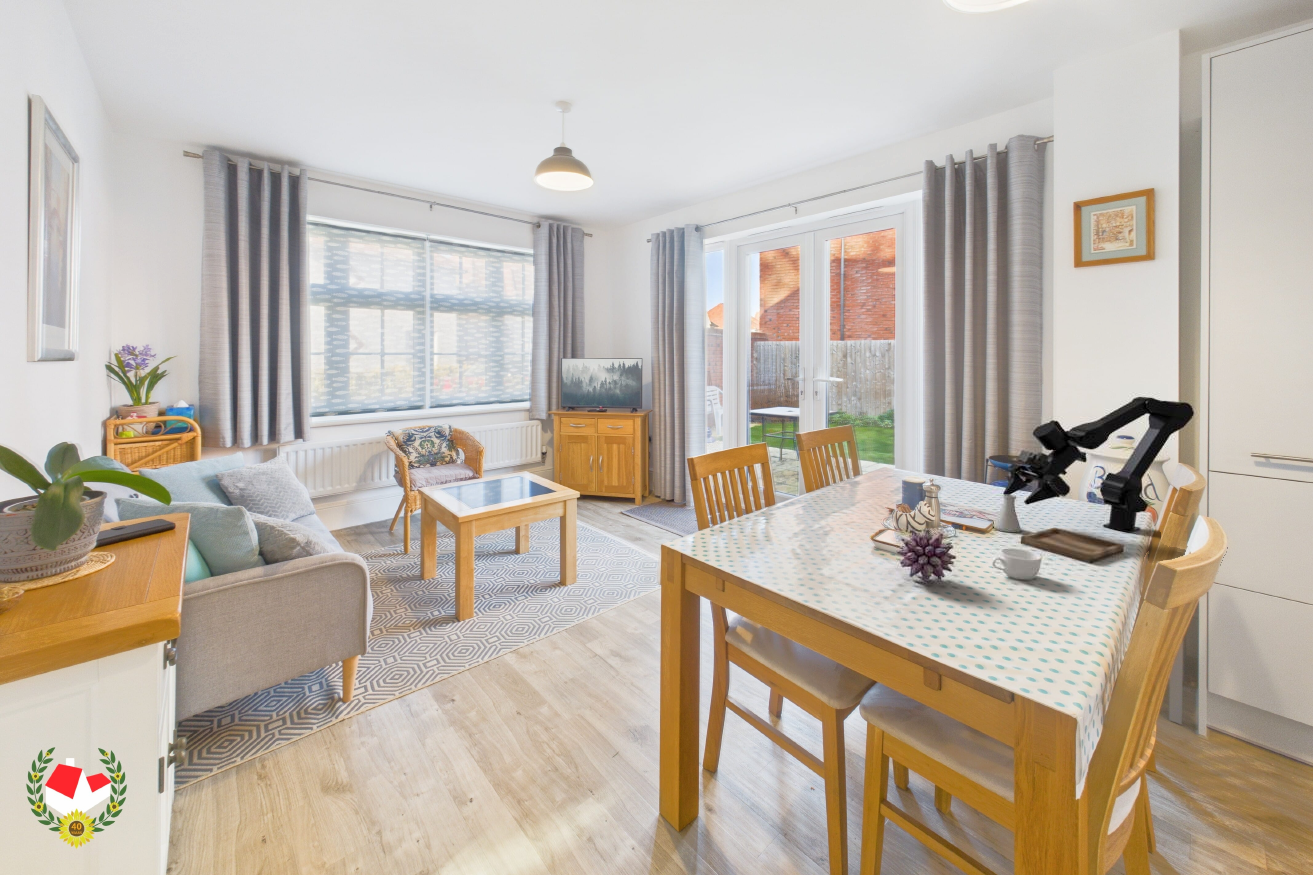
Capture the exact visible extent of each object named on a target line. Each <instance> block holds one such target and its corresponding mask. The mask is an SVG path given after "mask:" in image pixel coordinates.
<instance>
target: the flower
mask: <svg viewBox="0 0 1313 875" xmlns="http://www.w3.org/2000/svg"><path fill="white" fill-rule="evenodd" d="M910 532H911V533H909V534H907V535H908V536H909V538H904V537H901V538H900V539H899V540H900V541H901V542H903V544H904V545H900V546H899V549H900V550H896V554H898V555H901V556H903V558H902V560H900V561H899V563H900V565H901V567H902V568H905V567H907V568H910V571H909V572H910V573H909V574H908V576H909V577H910V578H913V576H915V575H917V574H921V576H922V577H923V582H929V580H930V578H931V576H932V575H933V576H935V577H936V578H937V579H938V580H940V581H941V580H942V578H943V579H944V578H945V577H946V575H945V573H944V571H947V572H950V573H952V572H953V569H952V568H951V567H950V566H949V565H952V566H953V565H954V563H955V562H954V561H953V560H956V559H957V556H956V555H954V554H952V553H950V550H952V549H953V548H954V546H953V544H952V542H951V541H948V542H943V536H944V533H943V532H939V533H938V534H935V535H933V536H932V534H931V532H930V529H929V528H926V527H925V528H924V527H923V528H922V529H921V532H920V533H917V532H916V531H915V530H914V529H911V530H910Z"/></svg>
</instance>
